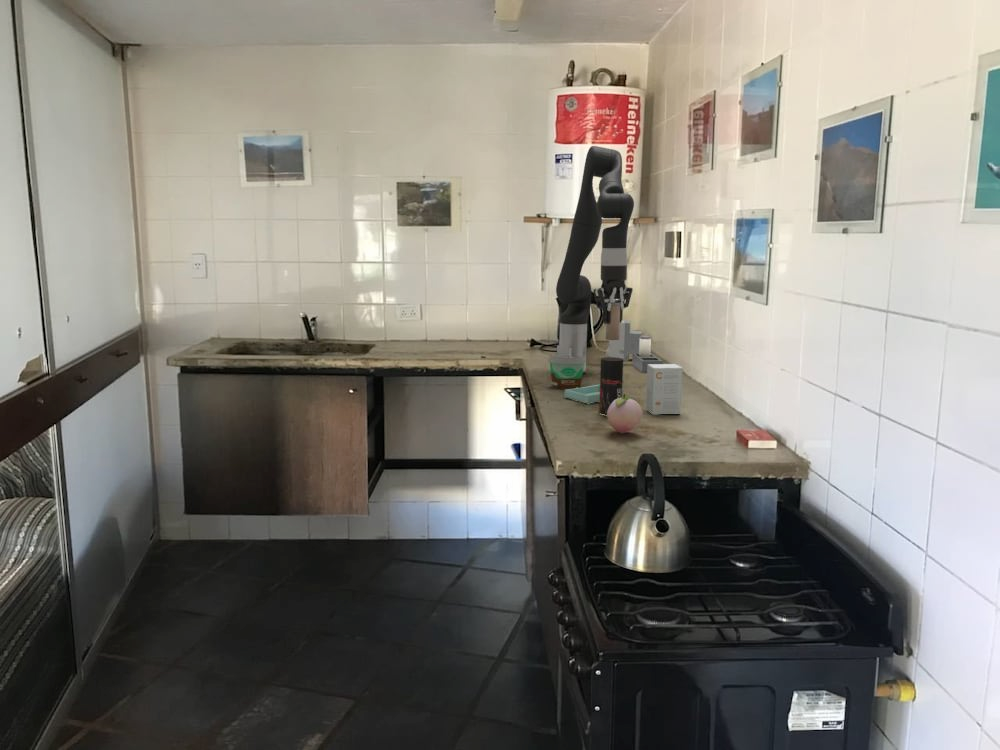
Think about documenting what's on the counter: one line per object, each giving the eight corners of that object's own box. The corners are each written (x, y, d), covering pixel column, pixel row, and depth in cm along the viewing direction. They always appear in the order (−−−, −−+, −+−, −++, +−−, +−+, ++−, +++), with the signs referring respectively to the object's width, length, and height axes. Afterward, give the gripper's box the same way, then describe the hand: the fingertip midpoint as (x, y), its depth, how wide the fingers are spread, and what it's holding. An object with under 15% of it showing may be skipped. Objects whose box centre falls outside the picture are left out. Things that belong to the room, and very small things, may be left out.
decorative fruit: (638, 440, 189) (640, 399, 187) (604, 437, 191) (605, 396, 190) (642, 430, 198) (644, 391, 196) (609, 428, 200) (611, 389, 198)
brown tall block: (617, 340, 233) (618, 303, 231) (604, 339, 234) (605, 302, 232) (620, 338, 236) (621, 302, 234) (607, 338, 238) (608, 301, 236)
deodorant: (616, 417, 211) (618, 361, 208) (595, 414, 214) (597, 359, 211) (624, 413, 216) (626, 358, 214) (603, 410, 219) (605, 356, 216)
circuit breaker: (644, 364, 293) (646, 323, 290) (605, 362, 296) (607, 322, 293) (645, 361, 300) (647, 321, 297) (607, 359, 303) (608, 320, 300)
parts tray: (587, 404, 226) (588, 395, 226) (564, 398, 234) (564, 389, 234) (622, 398, 235) (623, 390, 234) (599, 392, 243) (599, 384, 242)
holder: (662, 375, 271) (663, 341, 269) (641, 375, 271) (643, 341, 269) (651, 367, 287) (652, 334, 285) (631, 367, 287) (633, 334, 284)
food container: (553, 390, 245) (554, 358, 243) (547, 386, 251) (547, 355, 249) (591, 388, 248) (592, 356, 247) (584, 384, 254) (585, 353, 252)
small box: (673, 409, 221) (675, 363, 218) (680, 415, 215) (683, 367, 212) (644, 410, 220) (646, 363, 218) (651, 415, 214) (653, 367, 211)
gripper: (604, 264, 224) (603, 325, 227) (640, 263, 233) (639, 322, 235) (586, 264, 230) (585, 323, 233) (622, 263, 239) (621, 320, 241)
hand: (612, 322), depth 234 cm, fingers closed on brown tall block, 4 cm apart
